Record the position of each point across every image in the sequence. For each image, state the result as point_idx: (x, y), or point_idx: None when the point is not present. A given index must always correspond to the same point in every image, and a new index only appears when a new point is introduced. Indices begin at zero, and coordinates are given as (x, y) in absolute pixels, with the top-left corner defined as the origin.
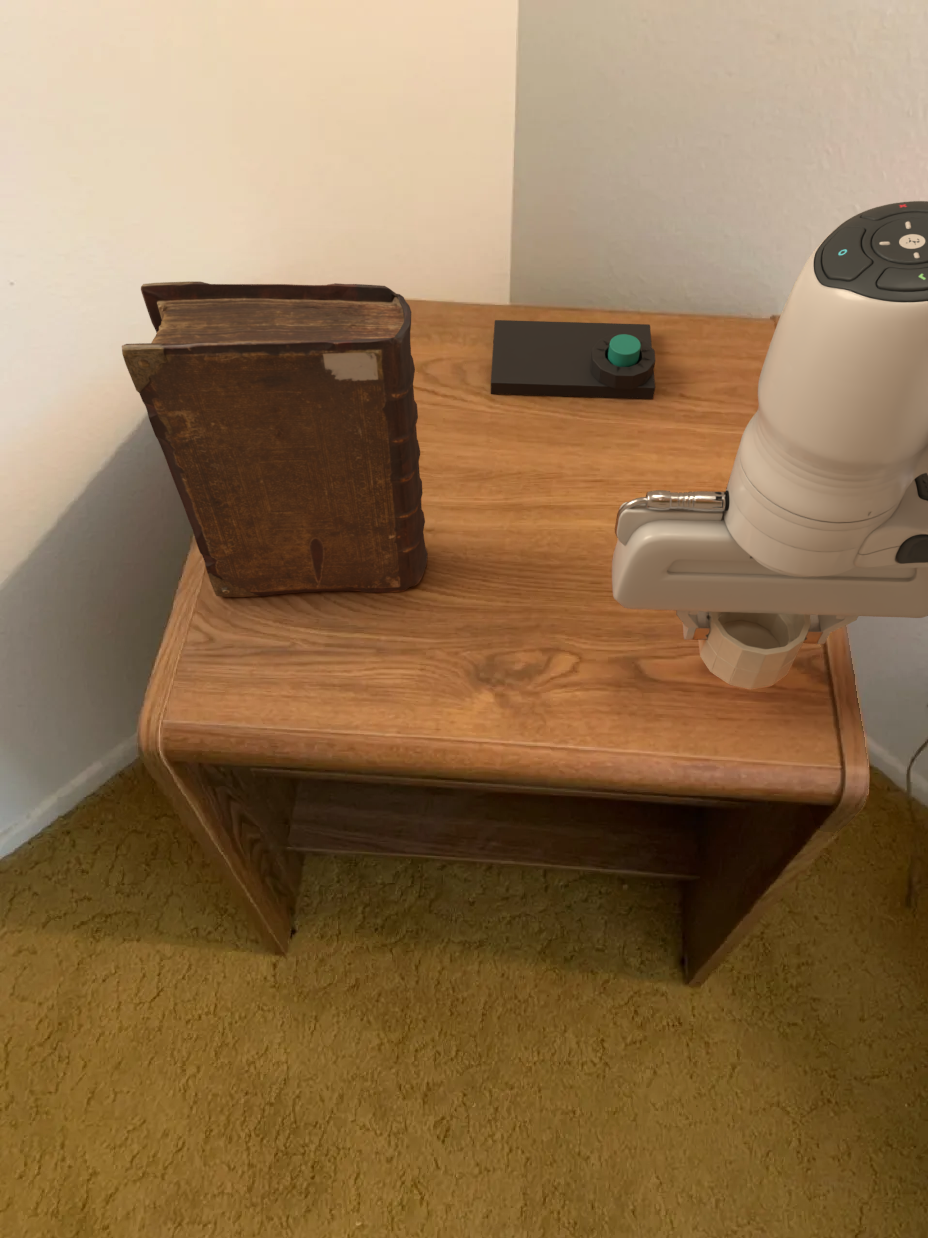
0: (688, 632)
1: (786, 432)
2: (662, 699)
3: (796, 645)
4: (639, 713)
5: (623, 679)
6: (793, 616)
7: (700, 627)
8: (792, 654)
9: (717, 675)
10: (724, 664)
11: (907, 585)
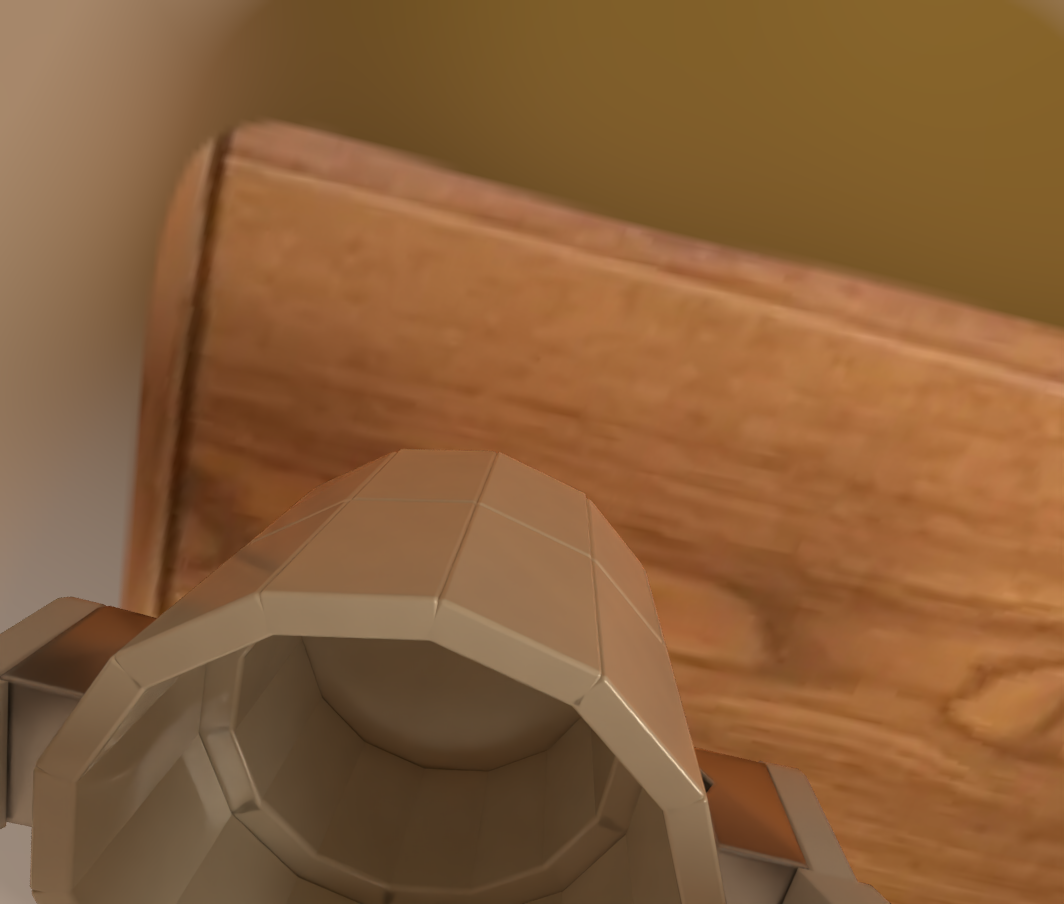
0: (825, 830)
1: None
2: (737, 518)
3: (182, 624)
4: (834, 485)
5: (836, 611)
6: (177, 787)
7: (780, 866)
8: (243, 566)
9: (627, 547)
10: (630, 591)
11: None
